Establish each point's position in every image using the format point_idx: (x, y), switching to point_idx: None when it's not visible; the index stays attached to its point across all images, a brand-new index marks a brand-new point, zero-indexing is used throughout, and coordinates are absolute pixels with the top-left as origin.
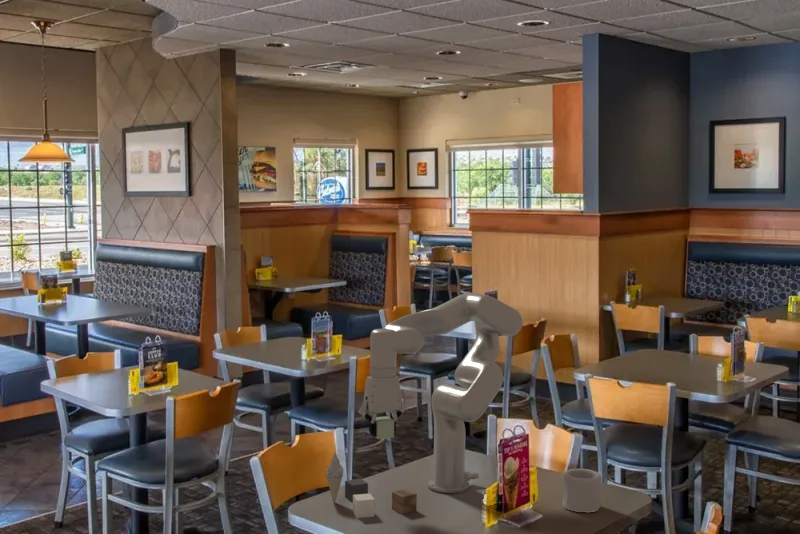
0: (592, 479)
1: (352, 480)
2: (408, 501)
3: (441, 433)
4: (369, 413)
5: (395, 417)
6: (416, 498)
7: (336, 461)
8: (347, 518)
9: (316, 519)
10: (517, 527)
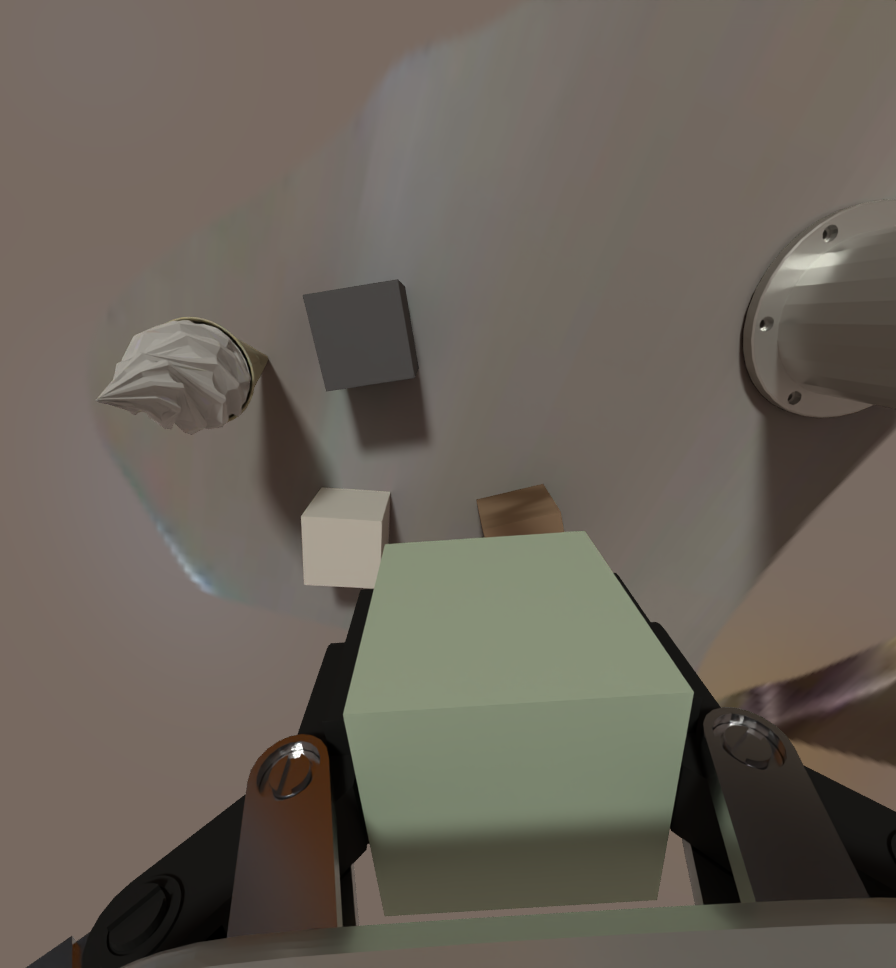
0: None
1: (345, 301)
2: None
3: None
4: (236, 926)
5: (733, 885)
6: None
7: (154, 419)
8: (289, 541)
9: (173, 519)
10: None
